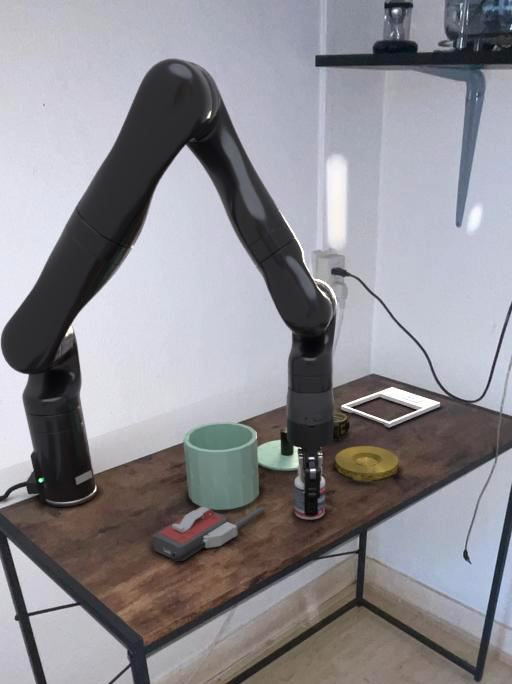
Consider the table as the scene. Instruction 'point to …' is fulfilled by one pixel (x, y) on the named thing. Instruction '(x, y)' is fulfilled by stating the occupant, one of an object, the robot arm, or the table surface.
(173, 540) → the walkie-talkie
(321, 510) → the pill bottle
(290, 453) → the lid
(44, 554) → the table surface
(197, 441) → the cylindrical container
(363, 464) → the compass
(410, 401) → the photo frame
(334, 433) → the tape measure
